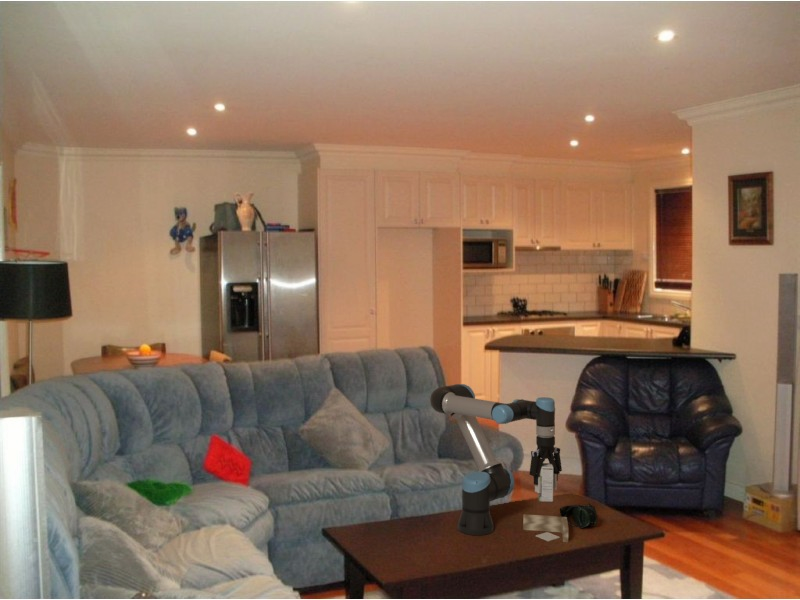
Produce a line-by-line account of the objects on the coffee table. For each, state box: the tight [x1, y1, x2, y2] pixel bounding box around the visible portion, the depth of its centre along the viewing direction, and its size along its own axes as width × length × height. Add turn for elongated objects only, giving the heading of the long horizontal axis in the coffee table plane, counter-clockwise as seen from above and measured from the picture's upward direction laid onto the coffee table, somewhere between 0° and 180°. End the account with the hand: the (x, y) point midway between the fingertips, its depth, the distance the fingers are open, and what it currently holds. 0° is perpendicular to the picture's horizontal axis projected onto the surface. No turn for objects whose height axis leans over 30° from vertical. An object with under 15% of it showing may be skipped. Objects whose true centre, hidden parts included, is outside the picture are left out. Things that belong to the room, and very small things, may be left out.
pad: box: [535, 531, 561, 542], centre depth 308 cm, size 7×7×1 cm
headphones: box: [559, 503, 598, 529], centre depth 325 cm, size 13×13×20 cm
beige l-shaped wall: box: [522, 514, 569, 543], centre depth 310 cm, size 18×13×6 cm
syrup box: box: [537, 462, 554, 503], centre depth 306 cm, size 6×6×14 cm
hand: (545, 490), depth 306 cm, fingers closed on syrup box, 8 cm apart
